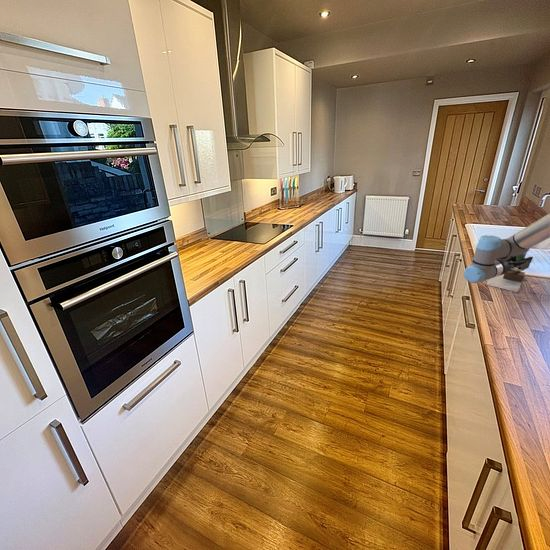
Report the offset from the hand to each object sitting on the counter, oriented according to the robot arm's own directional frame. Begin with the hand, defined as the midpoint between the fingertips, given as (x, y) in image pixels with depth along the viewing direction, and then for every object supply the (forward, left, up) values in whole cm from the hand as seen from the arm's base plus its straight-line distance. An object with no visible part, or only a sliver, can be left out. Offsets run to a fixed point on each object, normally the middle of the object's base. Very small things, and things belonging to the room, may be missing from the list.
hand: (526, 258), depth 134 cm
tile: (+5, +2, -12) cm, 13 cm away
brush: (+2, +5, -10) cm, 11 cm away
